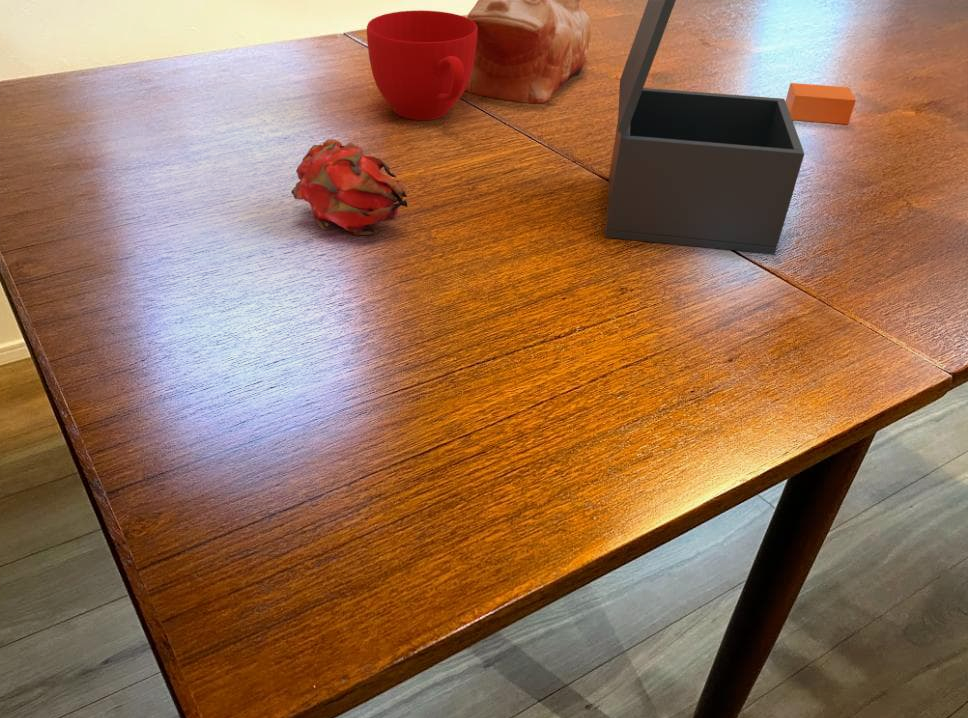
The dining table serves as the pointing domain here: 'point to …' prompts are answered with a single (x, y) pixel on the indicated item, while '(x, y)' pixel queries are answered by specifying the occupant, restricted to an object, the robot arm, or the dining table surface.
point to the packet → (820, 103)
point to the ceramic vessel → (527, 47)
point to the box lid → (641, 58)
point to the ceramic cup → (421, 60)
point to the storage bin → (704, 171)
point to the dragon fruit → (347, 187)
